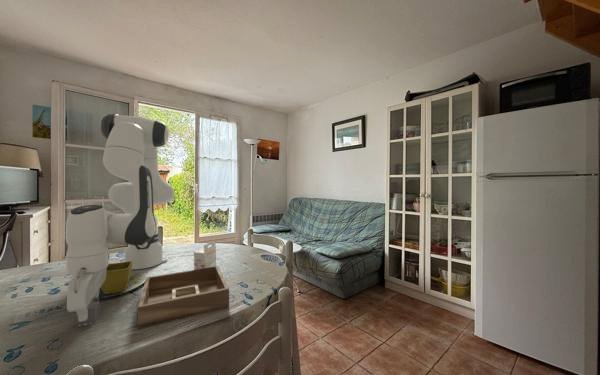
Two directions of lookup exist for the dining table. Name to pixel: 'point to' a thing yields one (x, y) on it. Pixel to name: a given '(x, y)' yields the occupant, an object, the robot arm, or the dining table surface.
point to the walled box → (182, 296)
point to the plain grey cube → (91, 314)
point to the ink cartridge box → (205, 256)
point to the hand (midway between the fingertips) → (89, 311)
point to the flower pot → (117, 277)
